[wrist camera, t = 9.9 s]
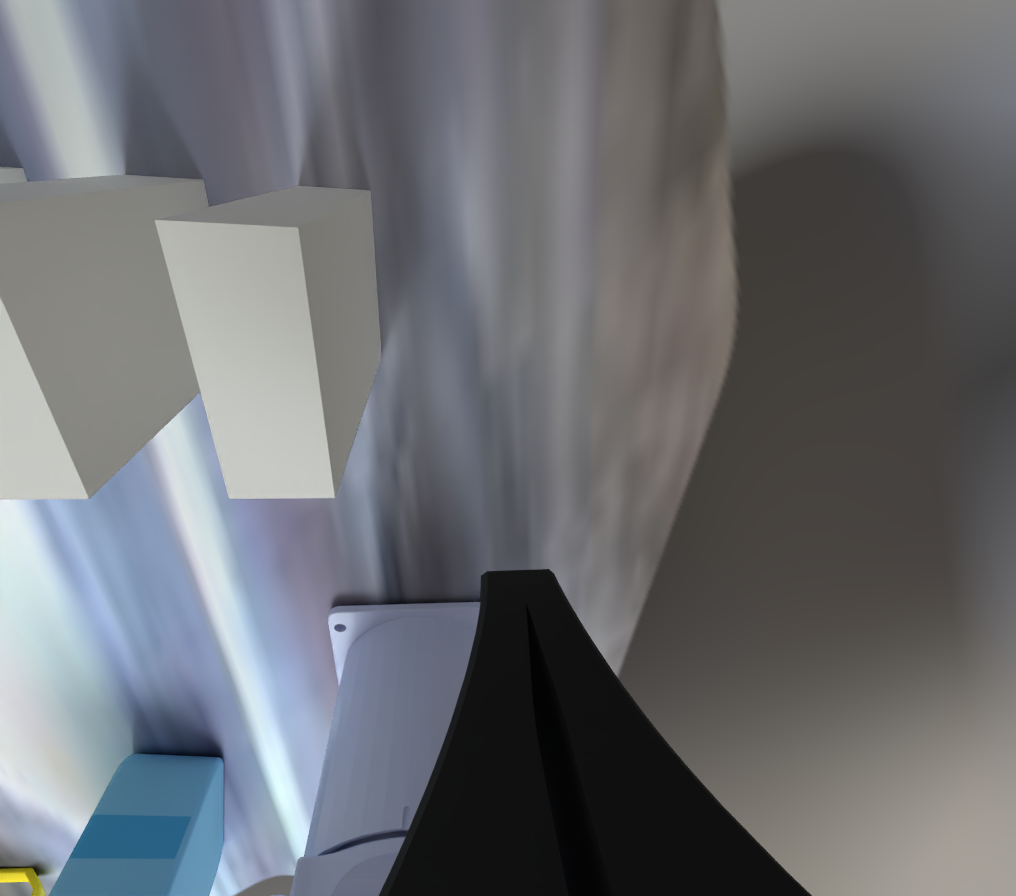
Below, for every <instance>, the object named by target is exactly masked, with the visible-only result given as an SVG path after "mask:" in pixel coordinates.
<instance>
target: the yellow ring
mask: <svg viewBox="0 0 1016 896" xmlns="http://www.w3.org/2000/svg"><path fill="white" fill-rule="evenodd" d="M0 882H29V883H30V885H31V886H32V888H33V893H32V896H45V893H44V892H45V891H44V888H43V886H42V884H41V882H40V880H39V878H38V877H37V875H36V873H35V871H34V869H33V867H32V868H0Z"/></svg>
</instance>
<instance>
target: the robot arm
mask: <svg viewBox="0 0 1016 896" xmlns="http://www.w3.org/2000/svg"><path fill="white" fill-rule="evenodd" d="M340 624H343V625H340ZM328 626H329V632H330V637H331V643H332V649H333V655H334V661H335V667H336V673H337V679H338V684H339V691H338V696H337V700H336V705H335V710H334V715H333V720H332V724H331V729H330V734H329V739H328V744H327V748H326V753H325V758H324V763H323V768H322V772H321V777H320V782H319V787H318V792H317V796H316V801H315V806H314V811H313V816H312V820H311V825H310V830H309V835H308V839H307V844H306V849H305V854H304V857H300V858H299V859H298V861H297V866H296V871H295V875H294V880H293V885H292V890H291V894H290V896H812V895H811V894H810V893H809V892H807V891H806V890H805V889H804V888H803V887H802V886H801V885H800V884H799V883H798V882H797V881H796V880H795V879H794V878H793V877H792V876H790V874H789V873H787V871H786V870H785V869H784V868H783V867H782V866H781V865H780V864H779V863H778V862H777V861H775V859H774V858H773V857H772V856H771V855H770V854H769V853H768V852H767V851H766V850H765V849H764V848H763V847H762V846H761V845H760V844H759V843H758V842H757V841H756V840H755V839H754V838H753V837H752V836H751V835H750V834H749V833H748V831H747V830H746V829H745V828H744V827H743V826H742V825H741V824H740V823H739V822H738V821H737V820H736V819H735V818H734V817H733V816H732V815H731V814H730V813H729V812H728V811H727V810H726V809H725V808H724V807H723V806H722V805H721V804H720V803H719V802H718V800H717V799H716V798H715V797H714V796H713V795H712V794H711V793H710V791H709V790H708V789H707V788H706V787H705V786H704V785H703V784H702V783H701V781H700V780H699V779H698V778H697V777H696V776H695V775H694V774H693V772H691V770H690V769H689V768H688V767H687V766H686V764H685V763H684V762H683V761H682V760H681V759H680V757H679V756H678V755H677V754H676V753H675V751H674V750H673V749H672V748H671V747H670V746H669V744H668V743H667V742H666V741H665V740H664V738H663V737H662V736H661V734H660V733H659V732H658V731H657V730H656V728H655V727H654V726H653V724H652V723H651V722H650V721H649V719H648V718H647V717H646V716H645V714H644V713H643V712H642V710H641V709H640V708H639V706H638V705H637V704H636V702H635V701H634V700H633V698H632V697H631V696H630V694H629V693H628V692H627V690H626V689H625V688H624V686H623V685H622V683H621V682H620V681H619V679H618V678H617V676H616V675H615V674H614V672H613V671H612V669H611V668H610V666H609V665H608V663H607V662H606V660H605V659H604V657H603V656H602V654H601V653H600V651H599V650H598V648H597V647H596V645H595V644H594V642H593V641H592V639H591V638H590V636H589V635H588V633H587V631H586V630H585V628H584V627H583V625H582V623H581V622H580V620H579V618H578V617H577V615H576V613H575V612H574V610H573V608H572V607H571V605H570V603H569V601H568V600H567V598H566V596H565V594H564V592H563V590H562V589H561V587H560V585H559V583H558V581H557V579H556V577H555V575H554V573H553V572H552V571H550V570H549V569H542V570H513V571H487V572H486V573H484V574H483V575H482V576H481V592H480V602H459V603H425V604H392V605H358V606H337V607H334V608H332V609H331V610H330V611H329V614H328ZM272 896H286V895H272Z"/></svg>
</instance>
